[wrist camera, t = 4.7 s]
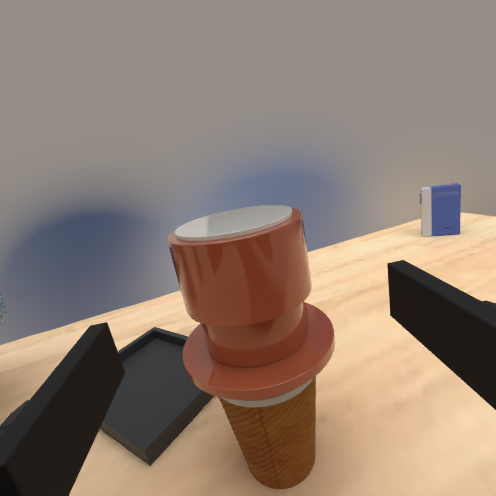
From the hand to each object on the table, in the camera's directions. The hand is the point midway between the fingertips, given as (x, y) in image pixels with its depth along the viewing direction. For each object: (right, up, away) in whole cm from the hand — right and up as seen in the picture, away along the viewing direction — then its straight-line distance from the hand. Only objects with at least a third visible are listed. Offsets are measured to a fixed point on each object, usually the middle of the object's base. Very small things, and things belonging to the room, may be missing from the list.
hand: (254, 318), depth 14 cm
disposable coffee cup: (+3, -16, +14) cm, 21 cm away
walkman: (+47, +7, +60) cm, 76 cm away
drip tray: (-13, -15, +26) cm, 33 cm away
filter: (0, -4, +10) cm, 11 cm away
